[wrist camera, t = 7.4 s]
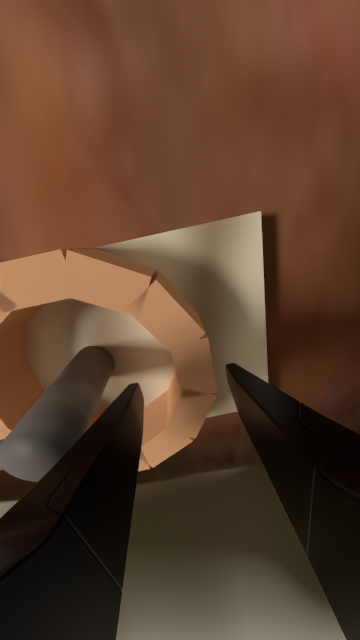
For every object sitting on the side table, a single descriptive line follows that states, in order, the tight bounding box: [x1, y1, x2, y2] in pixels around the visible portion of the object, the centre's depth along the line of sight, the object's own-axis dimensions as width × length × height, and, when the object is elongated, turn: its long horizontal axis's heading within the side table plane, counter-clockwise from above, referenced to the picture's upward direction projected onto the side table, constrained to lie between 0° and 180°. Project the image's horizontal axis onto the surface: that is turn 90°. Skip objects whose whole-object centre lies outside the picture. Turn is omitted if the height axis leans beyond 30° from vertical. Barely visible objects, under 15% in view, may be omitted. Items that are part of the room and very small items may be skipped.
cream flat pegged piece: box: [0, 211, 268, 482], centre depth 10 cm, size 19×13×8 cm
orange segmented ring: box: [0, 248, 217, 471], centre depth 11 cm, size 13×13×3 cm
